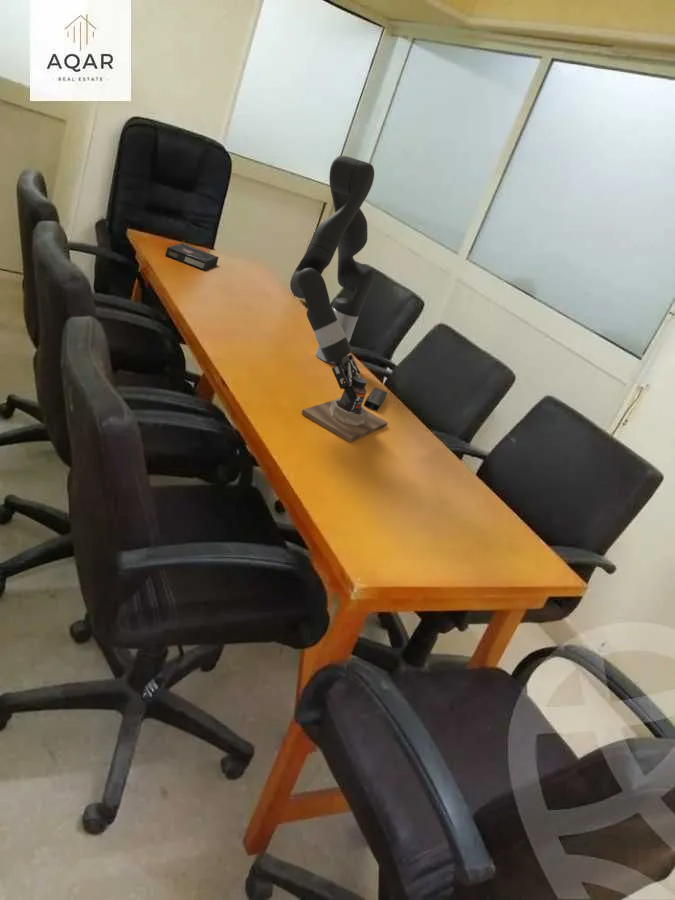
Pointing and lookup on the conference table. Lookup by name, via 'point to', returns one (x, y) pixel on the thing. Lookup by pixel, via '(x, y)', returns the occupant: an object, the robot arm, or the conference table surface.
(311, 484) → the conference table surface
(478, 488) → the conference table surface
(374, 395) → the multiport hub
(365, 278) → the robot arm
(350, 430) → the ring stand
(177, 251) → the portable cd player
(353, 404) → the supplement bottle
